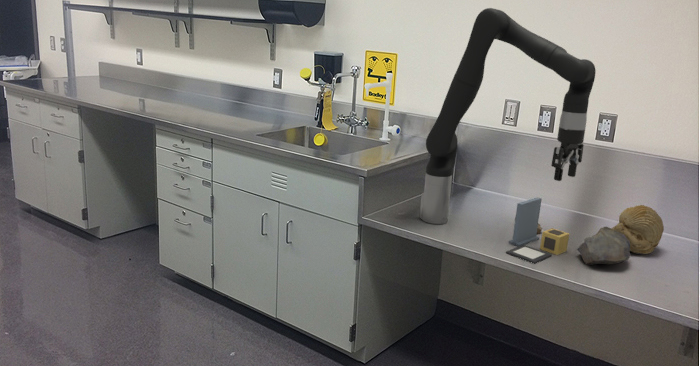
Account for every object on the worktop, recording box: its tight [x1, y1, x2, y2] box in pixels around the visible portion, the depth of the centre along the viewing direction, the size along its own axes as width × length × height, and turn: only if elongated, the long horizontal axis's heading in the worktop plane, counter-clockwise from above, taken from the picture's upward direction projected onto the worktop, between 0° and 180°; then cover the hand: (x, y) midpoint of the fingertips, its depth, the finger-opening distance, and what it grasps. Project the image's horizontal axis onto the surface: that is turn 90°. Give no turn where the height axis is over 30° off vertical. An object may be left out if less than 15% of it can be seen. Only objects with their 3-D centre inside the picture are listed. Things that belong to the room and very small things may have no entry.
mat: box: [505, 244, 553, 264], centre depth 181 cm, size 10×10×1 cm
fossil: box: [611, 204, 665, 255], centre depth 190 cm, size 15×17×15 cm
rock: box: [514, 216, 543, 235], centre depth 205 cm, size 8×11×4 cm
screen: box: [508, 196, 542, 247], centre depth 191 cm, size 4×12×14 cm, turn 132°
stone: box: [576, 226, 632, 266], centre depth 178 cm, size 18×10×15 cm
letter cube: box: [539, 227, 570, 256], centre depth 186 cm, size 6×6×6 cm
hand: (564, 178), depth 180 cm, fingers open, 8 cm apart
